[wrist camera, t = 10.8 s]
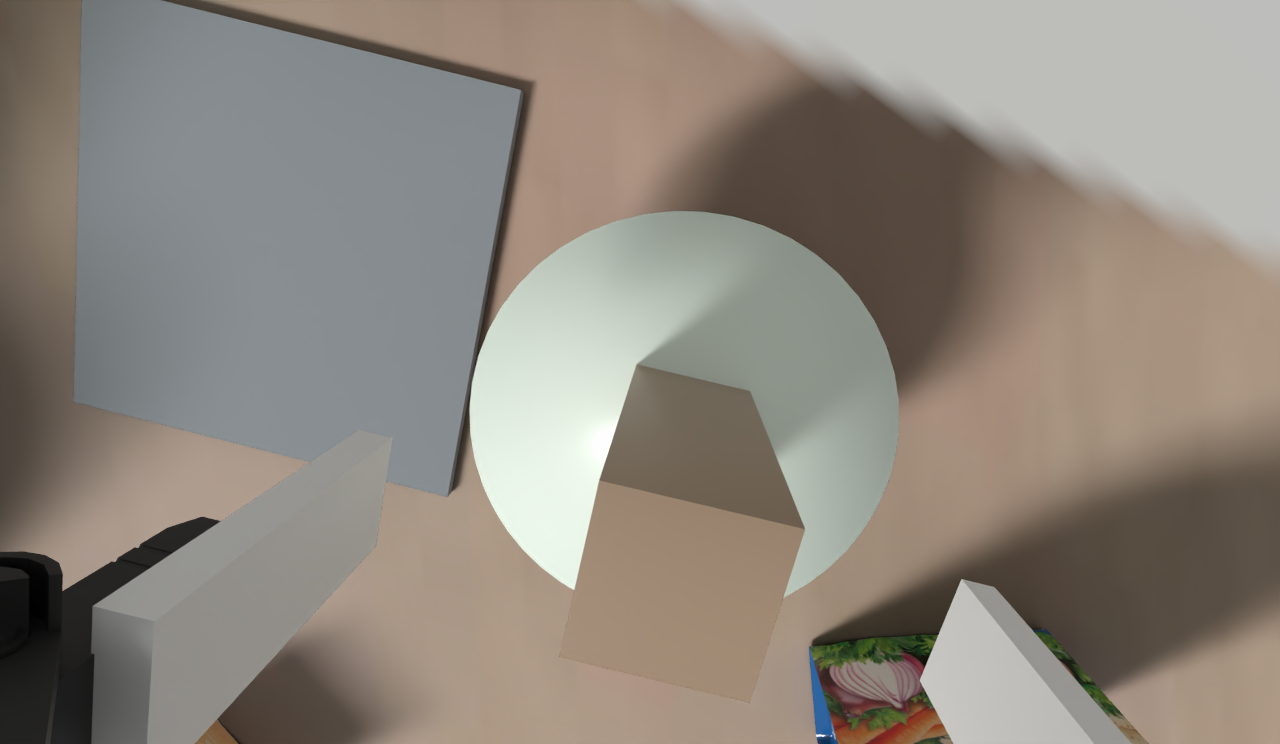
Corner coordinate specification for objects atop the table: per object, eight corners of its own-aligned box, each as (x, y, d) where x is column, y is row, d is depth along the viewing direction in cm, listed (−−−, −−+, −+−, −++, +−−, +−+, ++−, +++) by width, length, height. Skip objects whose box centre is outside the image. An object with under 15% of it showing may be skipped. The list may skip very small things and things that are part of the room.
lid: (450, 554, 25) (277, 802, 14) (516, 166, 21) (349, 111, 11) (820, 643, 25) (924, 961, 14) (949, 267, 21) (1220, 314, 10)
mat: (84, 398, 33) (73, 402, 33) (94, -15, 28) (82, -20, 28) (451, 492, 33) (447, 496, 32) (524, 92, 28) (520, 89, 28)
